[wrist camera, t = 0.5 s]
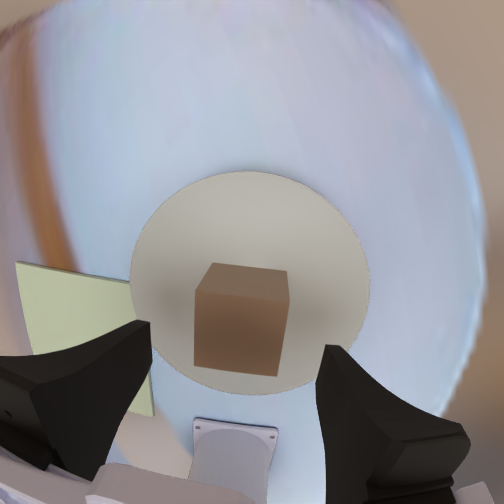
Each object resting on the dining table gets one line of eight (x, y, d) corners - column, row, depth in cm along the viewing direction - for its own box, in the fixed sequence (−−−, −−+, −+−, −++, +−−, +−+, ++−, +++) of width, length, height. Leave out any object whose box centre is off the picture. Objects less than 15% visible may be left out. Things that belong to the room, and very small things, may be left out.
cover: (337, 394, 20) (348, 444, 15) (141, 369, 20) (115, 412, 16) (385, 189, 16) (422, 199, 11) (137, 163, 17) (93, 165, 12)
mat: (154, 414, 27) (153, 417, 26) (44, 378, 27) (41, 381, 27) (144, 284, 23) (142, 286, 22) (18, 261, 24) (15, 262, 23)
